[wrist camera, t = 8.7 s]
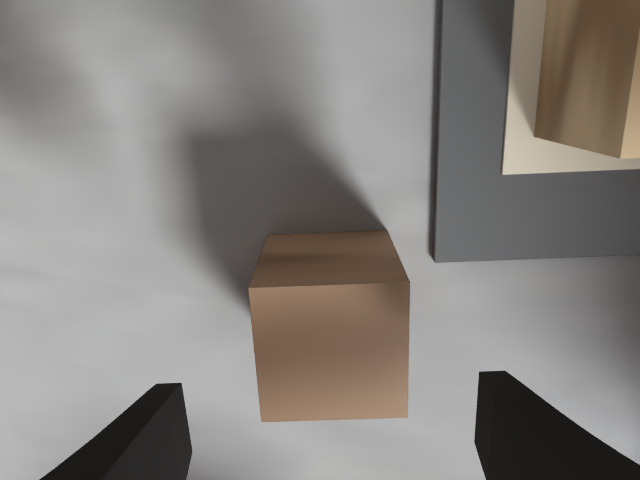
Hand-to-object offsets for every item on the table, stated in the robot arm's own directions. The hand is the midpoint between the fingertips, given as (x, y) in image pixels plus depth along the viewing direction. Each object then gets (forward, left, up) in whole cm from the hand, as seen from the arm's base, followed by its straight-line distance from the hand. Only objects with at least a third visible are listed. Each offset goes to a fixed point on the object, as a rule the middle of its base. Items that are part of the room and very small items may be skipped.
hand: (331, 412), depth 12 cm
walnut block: (0, 0, -8) cm, 8 cm away
